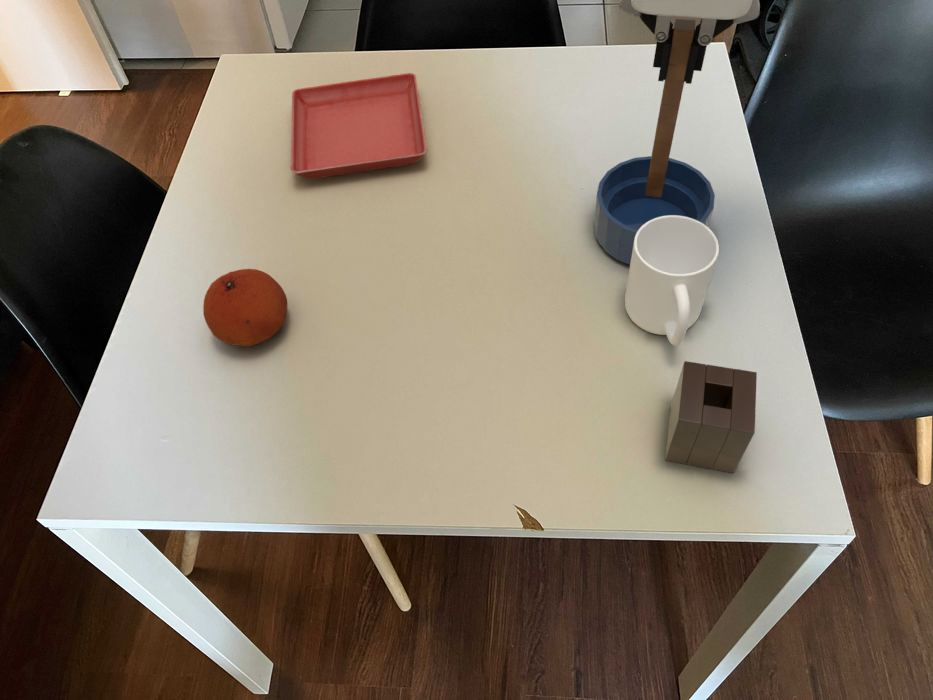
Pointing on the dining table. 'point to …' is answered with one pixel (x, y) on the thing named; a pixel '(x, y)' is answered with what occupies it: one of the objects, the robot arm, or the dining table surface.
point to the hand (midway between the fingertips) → (676, 72)
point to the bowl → (646, 202)
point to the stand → (711, 416)
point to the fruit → (244, 307)
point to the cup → (670, 275)
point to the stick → (669, 105)
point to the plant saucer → (356, 126)
